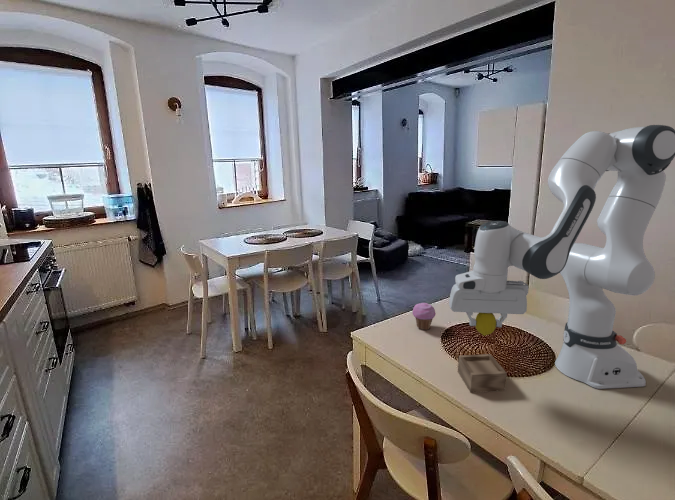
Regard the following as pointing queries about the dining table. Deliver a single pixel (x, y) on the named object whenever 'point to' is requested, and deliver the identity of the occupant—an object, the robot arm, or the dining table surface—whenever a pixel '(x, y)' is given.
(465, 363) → the walnut tray
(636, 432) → the dining table surface
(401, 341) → the dining table surface
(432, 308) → the cupcake
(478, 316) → the lemon
